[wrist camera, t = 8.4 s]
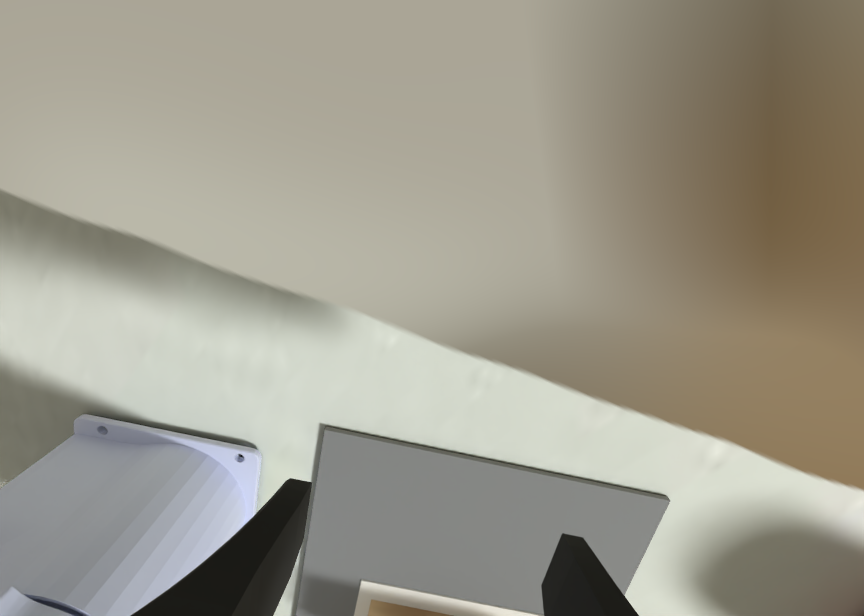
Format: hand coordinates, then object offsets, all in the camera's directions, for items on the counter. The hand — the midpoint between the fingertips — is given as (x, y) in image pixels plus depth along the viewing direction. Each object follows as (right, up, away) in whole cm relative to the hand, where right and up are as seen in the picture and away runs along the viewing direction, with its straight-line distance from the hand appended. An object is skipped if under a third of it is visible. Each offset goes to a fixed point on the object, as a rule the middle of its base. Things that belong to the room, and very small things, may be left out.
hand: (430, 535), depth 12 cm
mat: (+1, -12, +14) cm, 18 cm away
